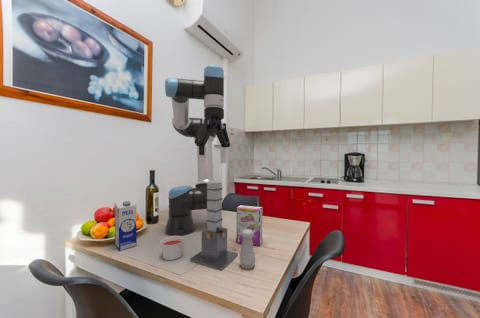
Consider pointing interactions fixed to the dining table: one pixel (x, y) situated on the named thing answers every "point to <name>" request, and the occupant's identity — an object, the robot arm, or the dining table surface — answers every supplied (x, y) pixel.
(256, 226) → the candy bar box
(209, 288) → the dining table surface
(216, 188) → the column
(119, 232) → the milk carton
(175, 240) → the candle
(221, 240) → the stand base
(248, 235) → the salt shaker
